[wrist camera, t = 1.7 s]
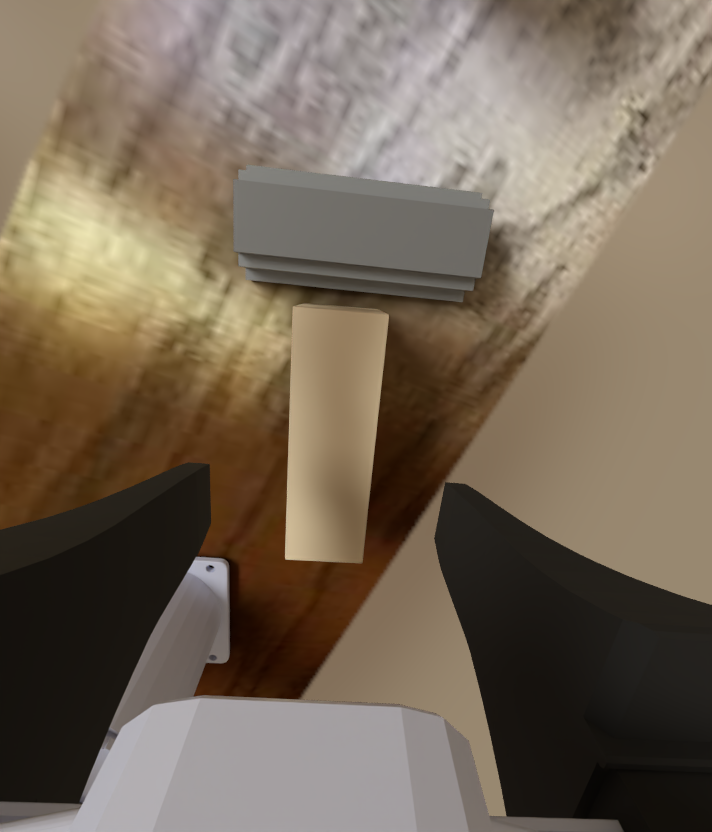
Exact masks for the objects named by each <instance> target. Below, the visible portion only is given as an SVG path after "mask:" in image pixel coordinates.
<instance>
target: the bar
mask: <svg viewBox="0 0 712 832" xmlns="http://www.w3.org/2000/svg"><path fill="white" fill-rule="evenodd" d="M388 320H389V315H388V314H386V313H384V312H382V311H381V310H379V309H370V308H358V307H347V306H335V305H324V304H312V303H304V304H300V305H297V306H293V318H292V351H291V383H290V416H289V448H288V480H287V513H286V545H285V559H287V560H307V561H327V562H347V563H362V561H363V551H364V542H365V533H366V524H367V514H368V505H369V496H370V487H371V477H372V468H373V459H374V450H375V440H376V431H377V422H378V413H379V403H380V394H381V385H382V376H383V366H384V357H385V348H386V339H387V329H388Z"/></svg>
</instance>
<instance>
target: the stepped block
mask: <svg viewBox="0 0 712 832" xmlns="http://www.w3.org/2000/svg"><path fill="white" fill-rule="evenodd" d="M233 183H234V252H237V253H239V266H240V267H245V268H246V280H253V281H263V282H272V283H282V284H292V285H301V286H311V287H320V288H330V289H340V290H349V291H359V292H369V293H378V294H388V295H397V296H407V297H417V298H426V299H436V300H446V301H455V302H463V298H464V292H465V291H473V289H474V283H475V279H476V278H481V275H482V270H483V265H484V259H485V254H486V249H487V244H488V238H489V233H490V228H491V223H492V217H493V212H494V210H491V209H488V208H489V203H490V200H489V199H481V197H482V193H478V192H470V191H461V190H453V189H445V188H436V187H428V186H420V185H411V184H403V183H395V182H386V181H378V180H370V179H362V178H353V177H345V176H337V175H328V174H320V173H312V172H303V171H295V170H287V169H278V168H270V167H262V166H253V165H246V170H239V180H237V179H233Z"/></svg>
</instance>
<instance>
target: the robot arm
mask: <svg viewBox="0 0 712 832" xmlns="http://www.w3.org/2000/svg"><path fill="white" fill-rule="evenodd" d="M210 524H211V504H210V465H209V464H202V463H186V464H183V465H180V466H177V467H175V468H173V469H170V470H168V471H166V472H163V473H161V474H159V475H157V476H154V477H152V478H150V479H148V480H146V481H143V482H141V483H139V484H137V485H134V486H132V487H130V488H127V489H125V490H122V491H120V492H117V493H115V494H113V495H110V496H108V497H105V498H103V499H100V500H98V501H95V502H92V503H90V504H87V505H84V506H81V507H79V508H76V509H73V510H70V511H66V512H63V513H60V514H57V515H54V516H51V517H47V518H44V519H40V520H37V521H33V522H29V523H25V524H21V525H17V526H14V527H10V528H6V529H2V530H0V832H712V605H709V604H706V603H703V602H700V601H697V600H693V599H690V598H687V597H683V596H681V595H678V594H675V593H672V592H669V591H667V590H664V589H661V588H658V587H655V586H653V585H650V584H647V583H645V582H642V581H639V580H636V579H634V578H632V577H629V576H626V575H624V574H622V573H620V572H617V571H615V570H612V569H610V568H608V567H606V566H604V565H601V564H599V563H596V562H594V561H592V560H590V559H588V558H586V557H584V556H582V555H580V554H578V553H576V552H574V551H572V550H570V549H568V548H566V547H564V546H563V545H561V544H559V543H557V542H555V541H553V540H551V539H549V538H548V537H546V536H544V535H543V534H541V533H540V532H538V531H536V530H535V529H533V528H531V527H530V526H528V525H526V524H525V523H523V522H522V521H520V520H519V519H517V518H516V517H514V516H513V515H511V514H510V513H508V512H507V511H505V510H504V509H502V508H501V507H499V506H498V505H496V504H495V503H493V502H492V501H491V500H489V499H488V498H486V497H485V496H483V495H482V494H481V493H479V492H478V491H476V490H474V489H473V488H471V487H469V486H468V485H466V484H459V483H446V482H445V486H444V491H443V497H442V502H441V507H440V512H439V518H438V523H437V528H436V533H435V538H434V539H435V544H436V549H437V554H438V559H439V563H440V567H441V570H442V573H443V576H444V579H445V582H446V584H447V587H448V590H449V593H450V596H451V598H452V601H453V604H454V607H455V609H456V612H457V615H458V618H459V620H460V623H461V626H462V629H463V631H464V634H465V637H466V640H467V643H468V646H469V650H470V653H471V657H472V661H473V665H474V669H475V672H476V676H477V680H478V684H479V688H480V692H481V697H482V701H483V705H484V710H485V714H486V718H487V723H488V727H489V731H490V736H491V741H492V745H493V750H494V755H495V760H496V764H497V769H498V774H499V779H500V783H501V789H502V794H503V799H504V805H505V810H506V815H507V817H502V816H489V814H488V810H487V806H486V803H485V799H484V795H483V792H482V788H481V784H480V781H479V777H478V773H477V769H476V766H475V762H474V759H473V755H472V751H471V748H470V744H469V741H468V740H467V739H466V738H465V737H464V736H463V735H462V734H461V733H459V732H458V731H457V730H456V729H455V728H454V727H453V726H452V725H451V724H450V723H449V722H448V721H446V720H445V719H444V718H443V717H441V716H440V715H437V714H436V713H433V712H428V711H424V710H420V709H416V708H412V707H408V706H403V705H400V704H383V703H382V704H381V703H362V702H338V701H318V700H296V699H274V698H252V697H230V696H208V695H203V696H196V697H193V696H194V693H195V691H196V688H197V685H198V683H199V680H200V677H201V675H202V672H203V669H204V667H205V664H206V663H225V662H227V661H228V659H229V655H230V594H229V563H228V562H227V561H226V560H225V559H221V558H207V557H196V556H197V554H198V553H199V551H200V548H201V546H202V544H203V542H204V539H205V537H206V534H207V532H208V529H209V527H210ZM209 565H212V566H213V567H214V568H211V567H209Z"/></svg>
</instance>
